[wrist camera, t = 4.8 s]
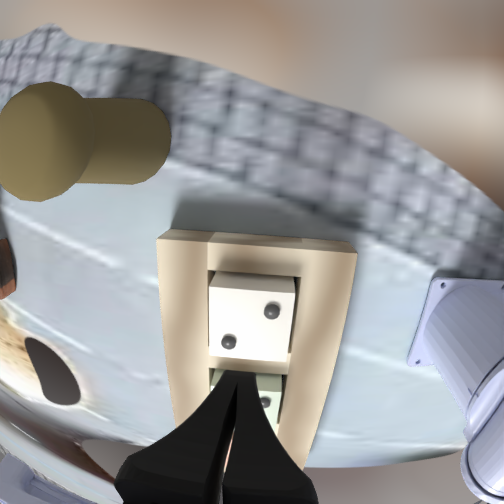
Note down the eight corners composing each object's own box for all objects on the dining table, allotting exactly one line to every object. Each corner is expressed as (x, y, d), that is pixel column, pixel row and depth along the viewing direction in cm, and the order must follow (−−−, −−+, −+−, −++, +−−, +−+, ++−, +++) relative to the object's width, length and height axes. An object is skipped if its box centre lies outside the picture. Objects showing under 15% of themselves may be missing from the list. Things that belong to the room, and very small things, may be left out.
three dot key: (281, 365, 22) (281, 394, 19) (275, 407, 24) (274, 436, 21) (217, 359, 22) (210, 387, 19) (218, 402, 24) (211, 430, 21)
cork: (158, 194, 20) (54, 238, 9) (87, 174, 20) (-30, 201, 9) (182, 106, 18) (87, 67, 8) (106, 93, 18) (-9, 68, 7)
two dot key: (292, 273, 20) (295, 295, 17) (285, 336, 21) (286, 364, 18) (218, 267, 20) (208, 287, 17) (217, 330, 22) (209, 357, 18)
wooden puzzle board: (348, 241, 20) (357, 253, 18) (299, 459, 27) (300, 476, 25) (169, 228, 21) (156, 238, 18) (188, 448, 28) (183, 465, 26)
